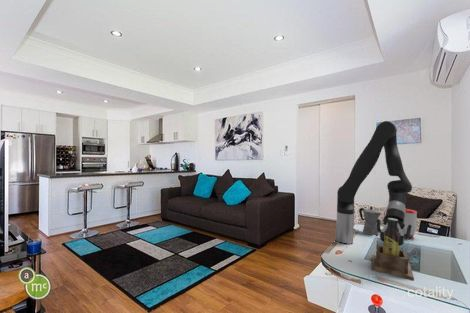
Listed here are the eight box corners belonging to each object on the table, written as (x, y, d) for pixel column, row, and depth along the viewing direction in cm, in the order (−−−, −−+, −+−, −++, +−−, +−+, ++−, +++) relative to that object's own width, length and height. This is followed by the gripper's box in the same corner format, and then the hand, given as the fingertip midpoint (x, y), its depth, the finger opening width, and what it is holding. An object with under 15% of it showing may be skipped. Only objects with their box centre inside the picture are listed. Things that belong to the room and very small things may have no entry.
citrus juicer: (404, 231, 160) (405, 203, 160) (422, 240, 143) (423, 208, 143) (381, 230, 162) (382, 201, 162) (396, 238, 144) (396, 207, 144)
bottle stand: (371, 269, 103) (372, 253, 103) (372, 257, 116) (372, 242, 116) (413, 280, 95) (414, 262, 95) (409, 265, 108) (409, 249, 108)
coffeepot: (384, 235, 150) (385, 208, 150) (375, 237, 146) (376, 209, 146) (363, 228, 164) (363, 203, 164) (354, 230, 160) (354, 204, 160)
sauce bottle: (379, 258, 109) (380, 216, 109) (391, 258, 109) (392, 216, 109) (389, 265, 102) (390, 220, 102) (403, 265, 103) (404, 220, 103)
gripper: (377, 205, 116) (371, 234, 107) (413, 210, 106) (410, 242, 97) (379, 213, 120) (374, 242, 111) (414, 219, 110) (411, 251, 101)
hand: (391, 242), depth 104 cm, fingers closed on sauce bottle, 6 cm apart
